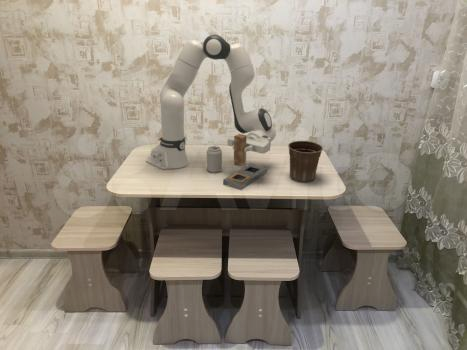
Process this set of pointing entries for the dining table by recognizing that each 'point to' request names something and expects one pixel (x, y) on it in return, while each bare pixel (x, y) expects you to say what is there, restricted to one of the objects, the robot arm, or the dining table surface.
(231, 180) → the metal plate
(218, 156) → the can
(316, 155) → the plant pot
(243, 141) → the walnut peg
